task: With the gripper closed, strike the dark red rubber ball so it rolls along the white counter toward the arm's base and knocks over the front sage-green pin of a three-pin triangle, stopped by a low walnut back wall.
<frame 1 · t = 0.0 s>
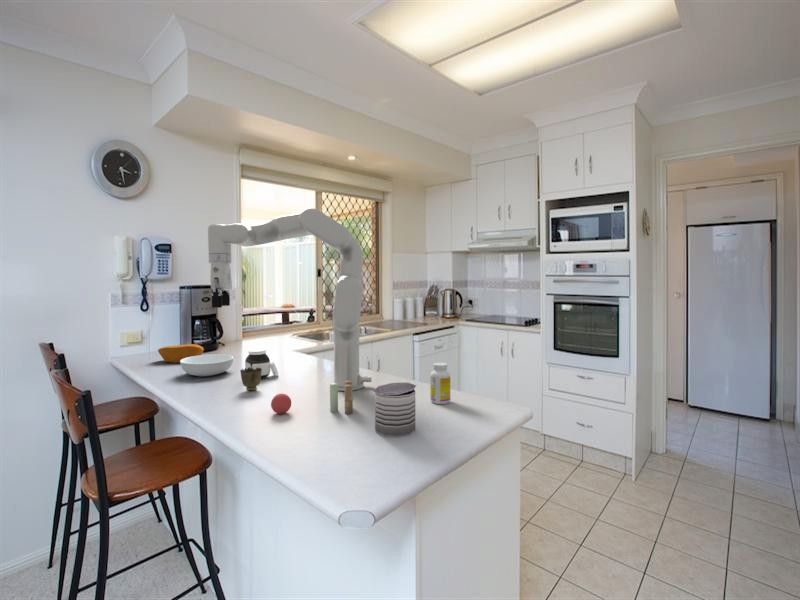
hand: (221, 306, 149), 31 cm above the table, tool pointing down, fingers open, 9 cm apart
back wall: (388, 408, 130), on the table
left back pin: (348, 413, 126), on the table
serving bowl: (207, 374, 178), on the table
supplement bottle: (440, 402, 138), on the table
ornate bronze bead: (251, 391, 152), on the table
right back pin: (348, 407, 131), on the table
bread: (180, 361, 207), on the table
ball: (281, 403, 126), on the table
can: (395, 430, 113), on the table
front pin: (334, 411, 128), on the table
spread jar: (263, 377, 173), on the table
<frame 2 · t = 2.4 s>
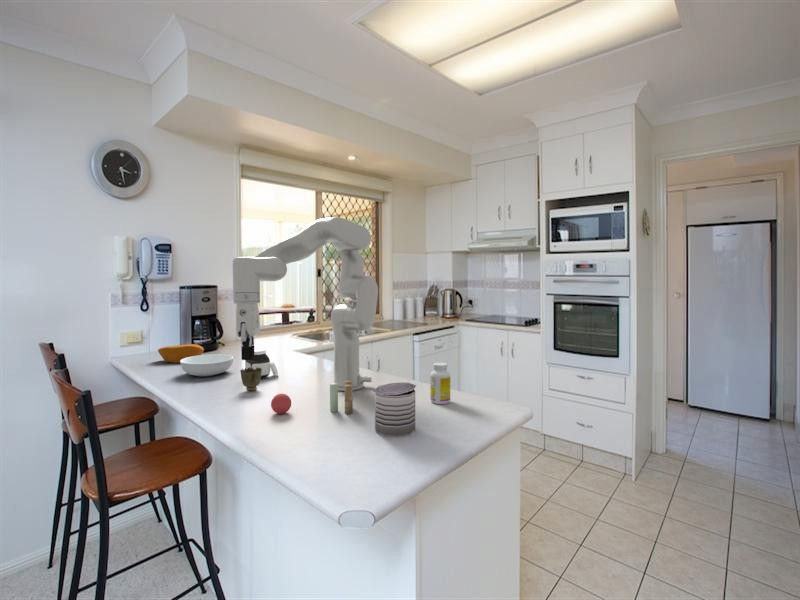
hand: (248, 358, 124), 17 cm above the table, tool pointing down, fingers closed
nothing on the table moved.
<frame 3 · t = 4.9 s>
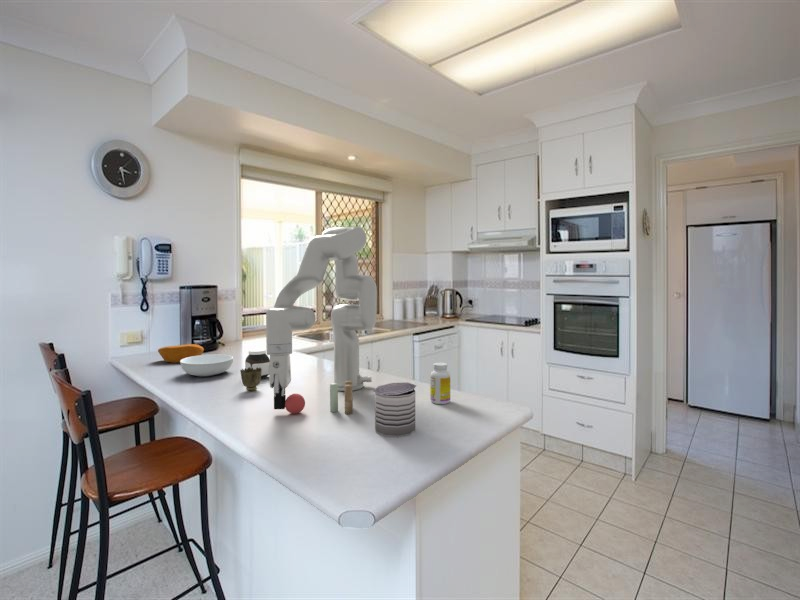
hand: (279, 408, 126), 2 cm above the table, tool pointing down, fingers closed
ball: (295, 403, 126), on the table
everything else where it was.
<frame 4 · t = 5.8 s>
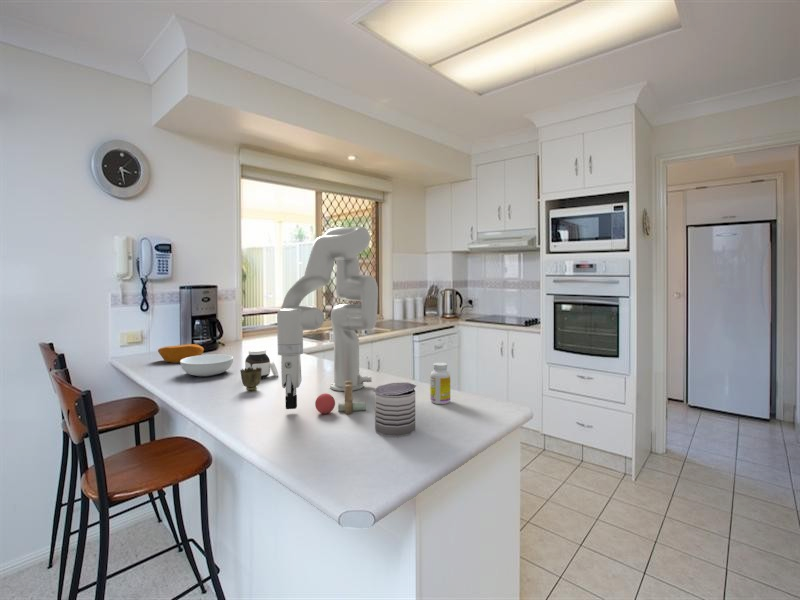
hand: (291, 408, 126), 2 cm above the table, tool pointing down, fingers closed
ball: (325, 403, 126), on the table
front pin: (338, 407, 128), point 1 cm above the table, tilted 90°
everything else where it was.
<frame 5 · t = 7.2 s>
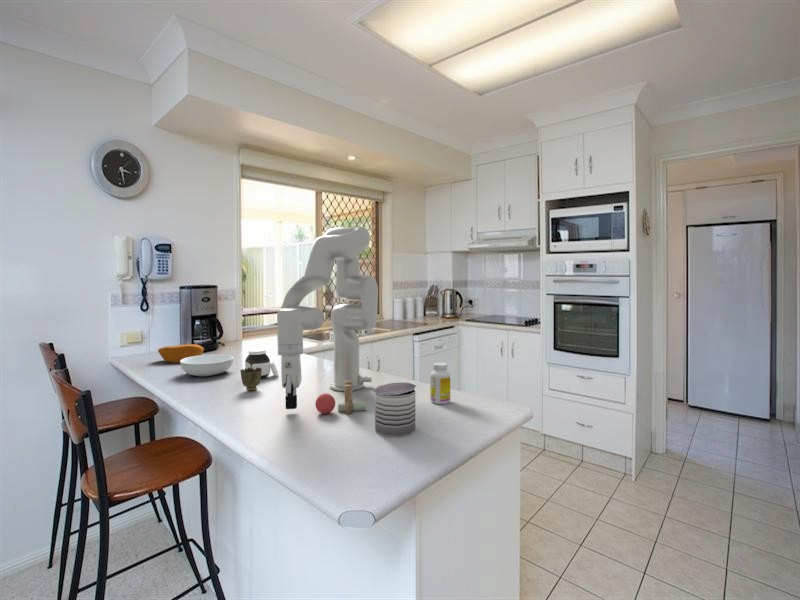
hand: (291, 408, 126), 2 cm above the table, tool pointing down, fingers closed
nothing on the table moved.
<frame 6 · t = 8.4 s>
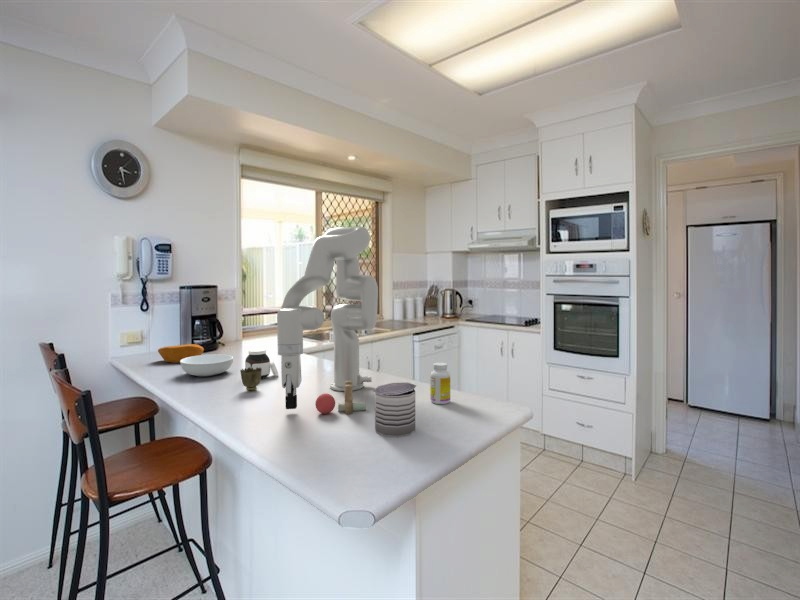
hand: (291, 408, 126), 2 cm above the table, tool pointing down, fingers closed
nothing on the table moved.
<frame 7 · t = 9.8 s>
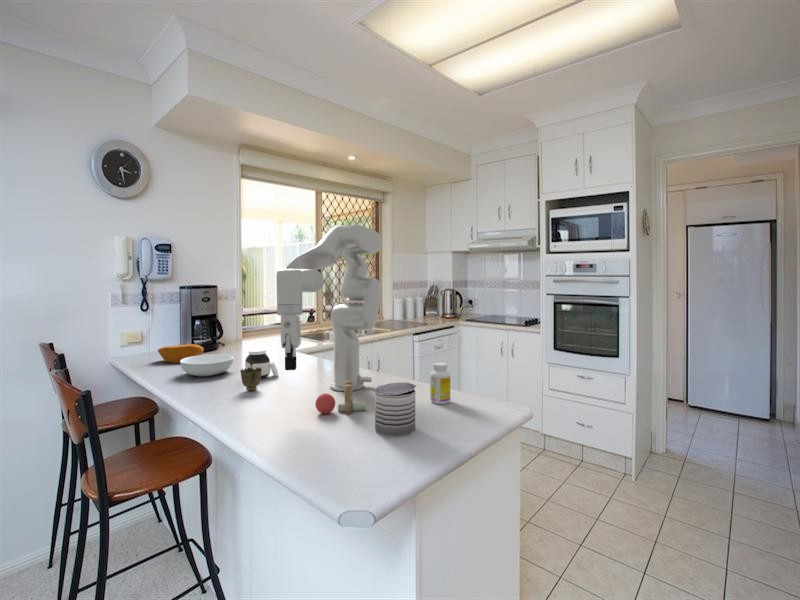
hand: (290, 369, 126), 13 cm above the table, tool pointing down, fingers closed
nothing on the table moved.
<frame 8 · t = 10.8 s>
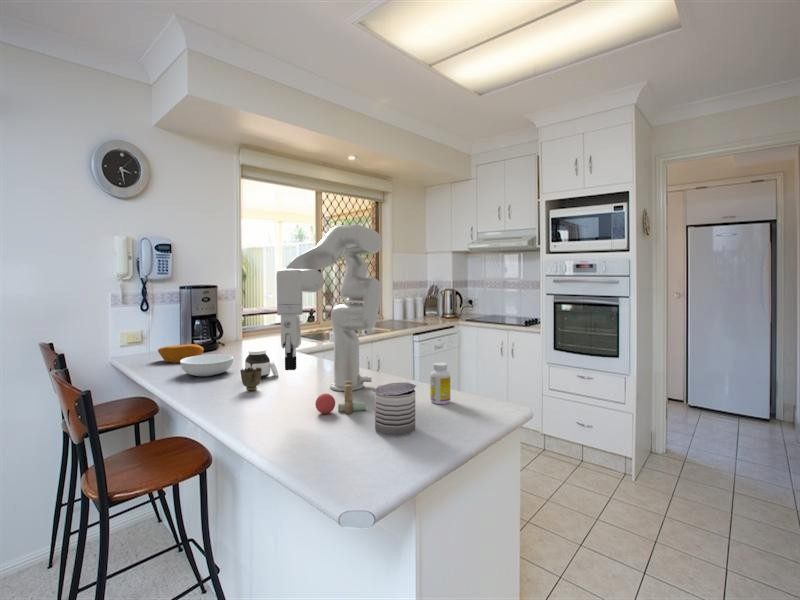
hand: (290, 369, 126), 14 cm above the table, tool pointing down, fingers closed
nothing on the table moved.
at the end: front pin tilted 90°; front pin never touched the robot; ball moved 13.5 cm from its start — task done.
